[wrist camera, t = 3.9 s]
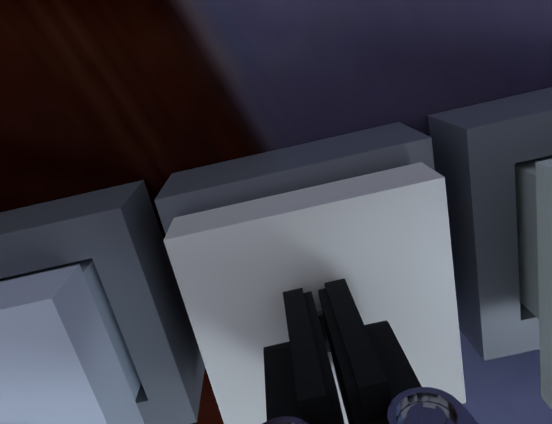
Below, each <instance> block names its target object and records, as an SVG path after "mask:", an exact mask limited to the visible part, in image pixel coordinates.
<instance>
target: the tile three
mask: <svg viewBox="0 0 552 424" xmlns="http://www.w3.org/2000/svg"><path fill="white" fill-rule="evenodd" d="M515 188H516V213H517V238H518V262H519V287H520V302H521V303H522V304H523V305H524V306H525V307H526V308H527V309H528V310H529V311H530V312H531V313H532V314H534V315H535V316H536V317H537V318H538V319H539V332H540V374H541V398H542V399H543V400H544V401H545V402H546V404H547V405H548V406H549V407H550V408H551V410H552V155H551V156H547V157H542V158H538V159H533V160H529V161H524V162H520V163H515Z"/></svg>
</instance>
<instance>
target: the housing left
mask: <svg viewBox="0 0 552 424" xmlns="http://www.w3.org/2000/svg"><path fill="white" fill-rule="evenodd" d="M163 240H164V239H163V236H162V233H161V230H160V227H159V224H158V221H157V218H156V215H155V212H154V209H153V206H152V203H151V200H150V197H149V194H148V191H147V188H146V185H145V182H144V180H141V181H136V182H132V183H128V184H123V185H119V186H114V187H110V188H106V189H101V190H97V191H92V192H88V193H84V194H79V195H75V196H70V197H66V198H62V199H57V200H53V201H49V202H44V203H40V204H35V205H31V206H27V207H22V208H18V209H13V210H9V211H5V212H0V279H1V278H5V277H10V276H14V275H19V274H23V273H28V272H32V271H36V270H41V269H45V268H50V267H54V266H59V265H63V264H68V263H72V262H77V261H81V260H86V259H90V258H92V259H93V262H94V264H95V267H96V269H97V272H98V274H99V277H100V279H101V282H102V285H103V287H104V290H105V292H106V295H107V297H108V300H109V302H110V305H111V307H112V310H113V312H114V315H115V317H116V320H117V322H118V325H119V327H120V330H121V333H122V335H123V338H124V340H125V343H126V345H127V348H128V350H129V353H130V355H131V358H132V360H133V363H134V365H135V368H136V370H137V373H138V375H139V378H140V381H141V385H140V388H139V391H138V394H137V397H136V400H135V402H136V404H137V406H138V409H139V411H140V414H141V416H142V419H143V421H144V424H191V423H196V422H197V417H198V411H199V404H200V397H201V390H202V384H203V377H204V370H205V365H204V362H203V359H202V356H201V352H200V349H199V346H198V343H197V340H196V337H195V334H194V331H193V328H192V325H191V322H190V319H189V316H188V313H187V310H186V307H185V304H184V301H183V298H182V295H181V292H180V289H179V286H178V283H177V280H176V277H175V274H174V271H173V268H172V265H171V262H170V259H169V256H168V253H167V250H166V247H165V244H164V241H163Z"/></svg>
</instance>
